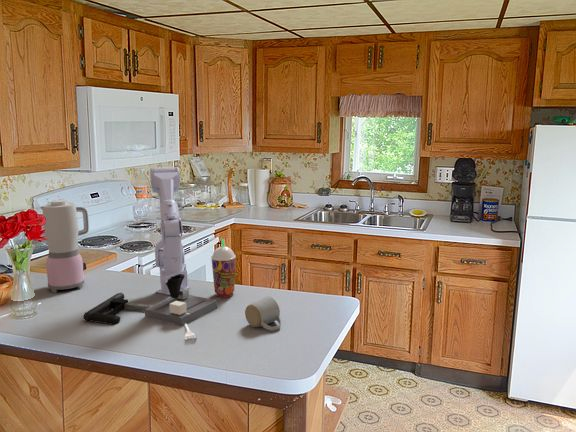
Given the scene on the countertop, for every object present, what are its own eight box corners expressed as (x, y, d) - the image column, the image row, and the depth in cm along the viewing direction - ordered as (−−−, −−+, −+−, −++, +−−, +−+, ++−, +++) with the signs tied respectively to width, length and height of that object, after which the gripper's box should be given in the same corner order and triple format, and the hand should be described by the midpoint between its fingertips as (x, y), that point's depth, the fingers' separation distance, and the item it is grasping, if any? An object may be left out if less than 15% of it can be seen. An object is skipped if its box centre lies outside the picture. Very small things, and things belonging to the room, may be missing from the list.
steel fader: (179, 294, 172) (179, 286, 171) (189, 296, 170) (188, 288, 169) (173, 297, 169) (173, 289, 169) (182, 299, 167) (182, 291, 167)
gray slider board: (181, 300, 175) (181, 292, 175) (217, 307, 168) (217, 300, 167) (145, 316, 161) (144, 309, 160) (182, 326, 153) (181, 317, 153)
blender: (51, 295, 181) (42, 205, 175) (44, 286, 191) (36, 200, 185) (97, 286, 190) (90, 200, 184) (89, 278, 200) (82, 196, 194)
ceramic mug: (243, 324, 154) (242, 300, 153) (263, 316, 160) (263, 293, 158) (267, 335, 147) (267, 309, 145) (287, 326, 153) (288, 302, 151)
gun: (157, 297, 172) (114, 291, 176) (126, 319, 153) (77, 312, 156) (157, 306, 173) (114, 300, 176) (126, 330, 154) (78, 322, 157)
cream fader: (176, 309, 159) (176, 300, 158) (186, 311, 157) (186, 302, 156) (169, 312, 156) (169, 303, 156) (180, 314, 154) (179, 306, 154)
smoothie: (221, 300, 175) (219, 242, 171) (207, 294, 181) (205, 238, 177) (241, 294, 180) (240, 238, 176) (227, 289, 186) (226, 234, 182)
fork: (187, 318, 161) (187, 312, 161) (198, 343, 143) (198, 336, 142) (177, 320, 160) (176, 314, 160) (186, 344, 142) (186, 338, 141)
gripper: (171, 250, 172) (173, 289, 175) (150, 262, 158) (152, 304, 161) (191, 251, 170) (192, 290, 173) (171, 263, 157) (173, 306, 159)
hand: (174, 297), depth 167 cm, fingers closed
